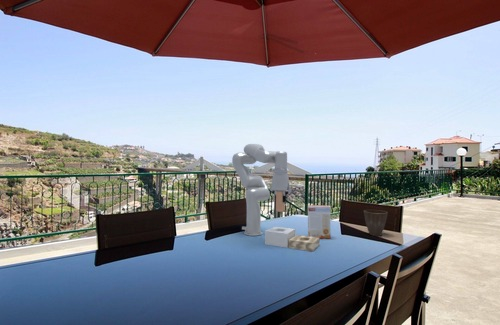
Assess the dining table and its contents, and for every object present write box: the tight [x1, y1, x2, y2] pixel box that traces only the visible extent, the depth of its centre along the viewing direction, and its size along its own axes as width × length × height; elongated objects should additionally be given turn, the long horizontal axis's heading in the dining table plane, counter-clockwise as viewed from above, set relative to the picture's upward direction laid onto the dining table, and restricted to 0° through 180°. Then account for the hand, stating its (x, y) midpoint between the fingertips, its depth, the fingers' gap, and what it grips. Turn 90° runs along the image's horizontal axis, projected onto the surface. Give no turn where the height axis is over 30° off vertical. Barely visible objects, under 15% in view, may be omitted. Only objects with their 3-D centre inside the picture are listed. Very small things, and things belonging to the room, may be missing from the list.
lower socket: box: [288, 234, 321, 252], centre depth 169 cm, size 14×14×4 cm
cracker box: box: [307, 204, 331, 240], centre depth 190 cm, size 14×6×21 cm, turn 84°
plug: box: [275, 191, 286, 213], centre depth 176 cm, size 4×4×12 cm
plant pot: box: [363, 209, 388, 237], centre depth 199 cm, size 15×15×16 cm
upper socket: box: [264, 226, 296, 249], centre depth 176 cm, size 14×14×8 cm
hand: (280, 201), depth 176 cm, fingers closed on plug, 4 cm apart
